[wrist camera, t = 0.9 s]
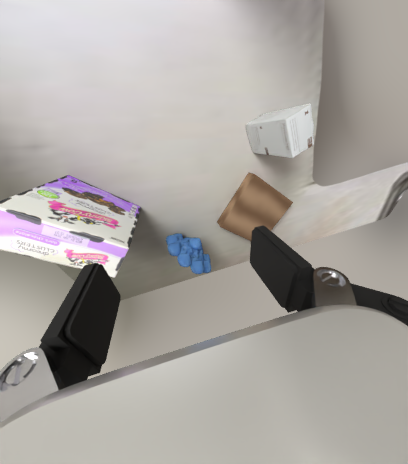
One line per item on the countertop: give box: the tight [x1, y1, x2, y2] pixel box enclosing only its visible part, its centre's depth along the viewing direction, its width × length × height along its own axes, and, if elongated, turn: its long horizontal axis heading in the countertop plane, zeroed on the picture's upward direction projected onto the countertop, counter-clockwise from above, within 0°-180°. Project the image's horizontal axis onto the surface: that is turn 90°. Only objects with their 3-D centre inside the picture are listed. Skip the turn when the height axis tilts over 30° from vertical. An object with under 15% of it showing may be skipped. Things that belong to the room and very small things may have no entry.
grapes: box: [166, 234, 211, 274], centre depth 37 cm, size 12×7×12 cm, turn 55°
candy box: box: [0, 175, 141, 277], centre depth 26 cm, size 14×6×16 cm, turn 57°
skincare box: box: [246, 103, 314, 158], centre depth 29 cm, size 6×4×12 cm
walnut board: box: [217, 173, 293, 241], centre depth 41 cm, size 14×14×3 cm
